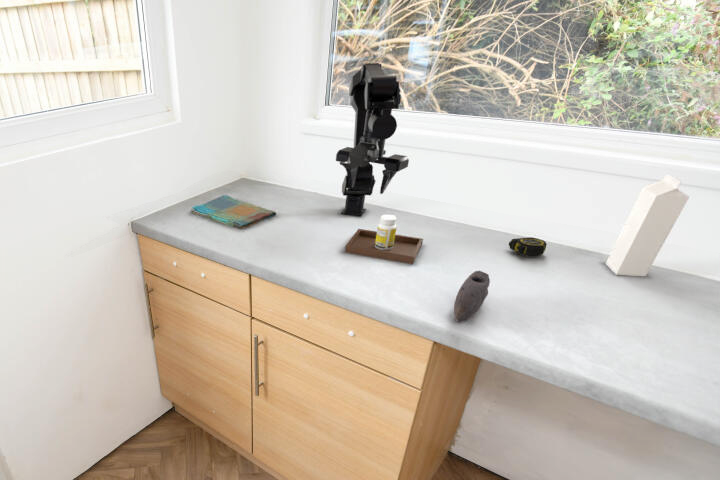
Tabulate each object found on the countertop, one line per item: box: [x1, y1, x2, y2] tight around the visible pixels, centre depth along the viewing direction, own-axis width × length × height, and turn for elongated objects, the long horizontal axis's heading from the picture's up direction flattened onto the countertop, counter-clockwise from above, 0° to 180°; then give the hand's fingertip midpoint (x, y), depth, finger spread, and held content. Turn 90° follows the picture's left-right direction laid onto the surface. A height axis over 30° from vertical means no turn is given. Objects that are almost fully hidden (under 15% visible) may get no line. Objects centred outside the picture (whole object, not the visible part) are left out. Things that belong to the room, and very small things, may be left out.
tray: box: [344, 228, 424, 265], centre depth 128 cm, size 13×18×2 cm
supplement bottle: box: [375, 214, 398, 250], centre depth 126 cm, size 5×5×8 cm
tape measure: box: [508, 236, 547, 258], centre depth 121 cm, size 7×7×4 cm
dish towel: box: [189, 194, 277, 230], centre depth 154 cm, size 17×23×2 cm
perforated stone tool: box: [453, 270, 491, 323], centre depth 99 cm, size 15×5×7 cm, turn 141°
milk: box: [605, 173, 690, 277], centre depth 107 cm, size 6×6×22 cm
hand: (366, 190), depth 132 cm, fingers open, 9 cm apart
